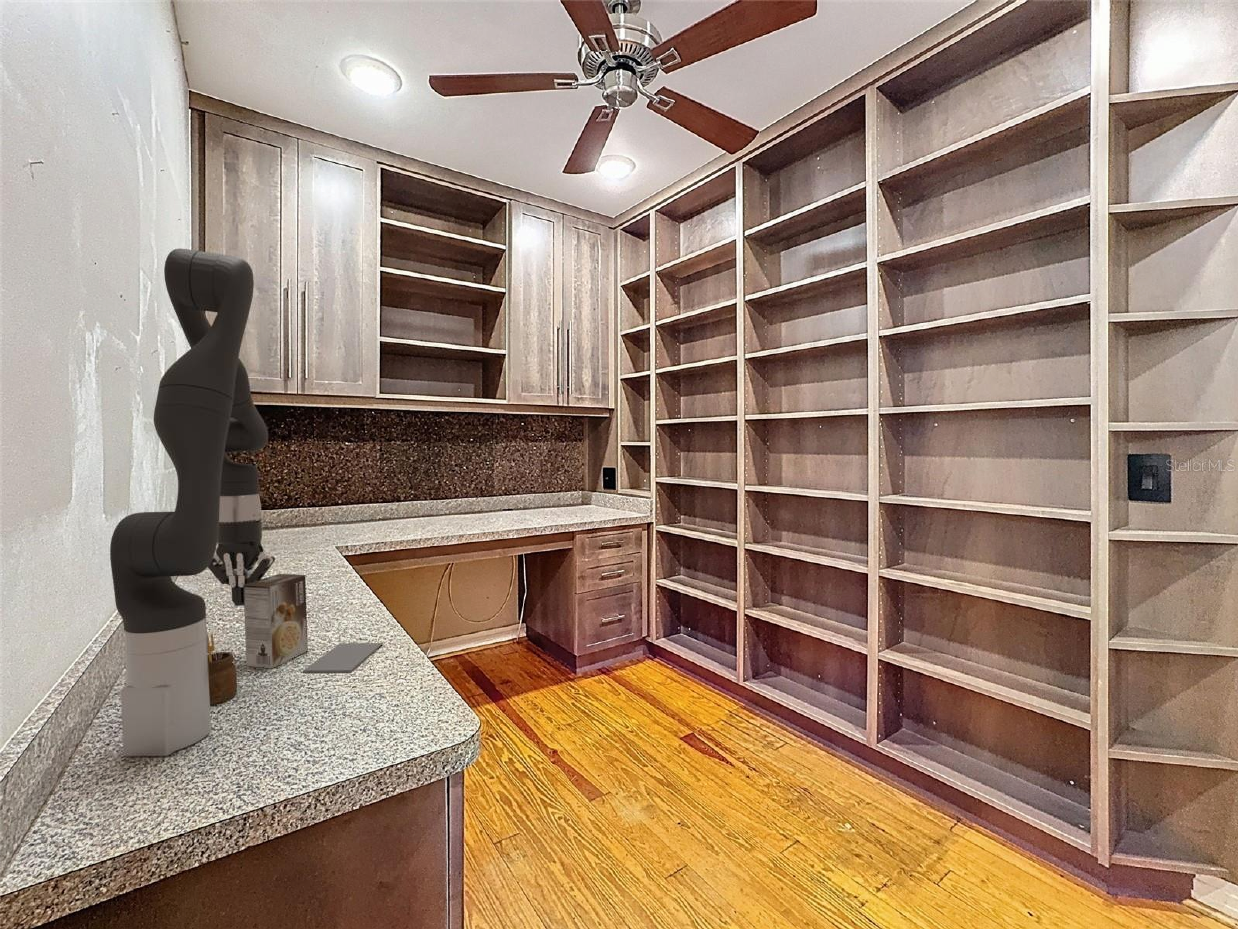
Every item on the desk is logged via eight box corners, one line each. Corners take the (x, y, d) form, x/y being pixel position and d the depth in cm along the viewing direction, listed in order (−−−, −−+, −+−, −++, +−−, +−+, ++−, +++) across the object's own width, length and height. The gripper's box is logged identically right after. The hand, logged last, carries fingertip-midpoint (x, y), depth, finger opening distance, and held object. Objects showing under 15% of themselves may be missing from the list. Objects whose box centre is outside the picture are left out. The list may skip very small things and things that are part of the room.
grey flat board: (351, 672, 104) (350, 670, 104) (302, 673, 104) (302, 670, 104) (382, 645, 118) (382, 642, 118) (340, 645, 118) (340, 643, 118)
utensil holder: (241, 687, 98) (238, 620, 98) (231, 703, 92) (228, 632, 92) (201, 693, 96) (198, 625, 96) (188, 710, 90) (184, 637, 90)
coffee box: (282, 649, 116) (280, 572, 116) (308, 651, 115) (307, 574, 114) (244, 666, 107) (242, 584, 107) (272, 669, 106) (270, 586, 105)
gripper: (190, 520, 106) (194, 610, 107) (260, 520, 106) (263, 610, 107) (218, 515, 114) (221, 599, 114) (283, 515, 114) (286, 599, 114)
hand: (241, 604), depth 111 cm, fingers closed
